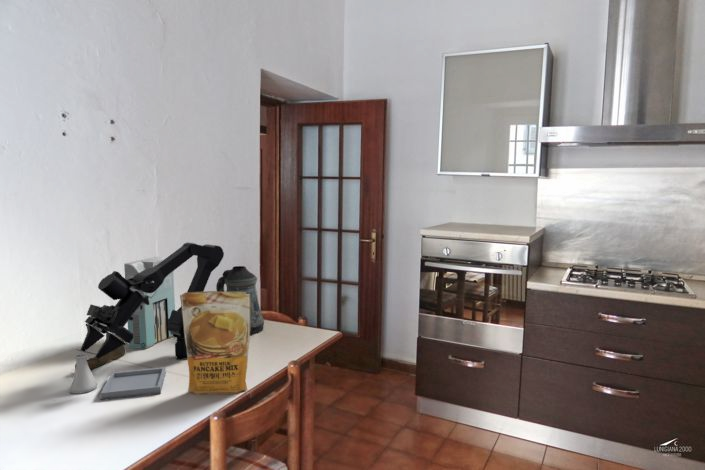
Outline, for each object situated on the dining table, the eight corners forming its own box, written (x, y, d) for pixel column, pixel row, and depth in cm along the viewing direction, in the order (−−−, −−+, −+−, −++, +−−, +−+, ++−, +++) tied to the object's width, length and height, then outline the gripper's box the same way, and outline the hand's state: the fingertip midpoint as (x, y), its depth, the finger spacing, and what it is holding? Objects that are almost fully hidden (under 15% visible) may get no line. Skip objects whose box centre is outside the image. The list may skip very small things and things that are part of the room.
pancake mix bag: (187, 385, 145) (183, 290, 142) (254, 384, 145) (251, 289, 142) (180, 395, 138) (175, 295, 135) (250, 394, 139) (247, 294, 136)
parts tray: (165, 373, 154) (165, 367, 153) (160, 393, 139) (160, 386, 139) (112, 379, 150) (111, 372, 150) (101, 400, 135) (100, 393, 135)
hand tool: (84, 376, 153) (83, 361, 152) (74, 374, 154) (73, 359, 153) (131, 356, 170) (131, 342, 170) (122, 354, 172) (121, 341, 171)
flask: (76, 384, 146) (73, 351, 145) (102, 383, 147) (99, 350, 146) (64, 395, 139) (61, 360, 138) (91, 393, 140) (88, 359, 138)
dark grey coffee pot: (259, 336, 189) (258, 271, 186) (208, 336, 189) (205, 271, 187) (267, 324, 206) (266, 263, 203) (220, 324, 206) (218, 263, 203)
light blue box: (146, 349, 176) (142, 264, 173) (128, 347, 178) (123, 263, 175) (176, 335, 191) (173, 257, 188) (159, 333, 194) (155, 256, 190)
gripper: (90, 289, 152) (52, 333, 144) (120, 298, 140) (81, 346, 133) (117, 309, 159) (82, 352, 151) (148, 319, 147) (113, 367, 140)
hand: (89, 354), depth 143 cm, fingers open, 9 cm apart
